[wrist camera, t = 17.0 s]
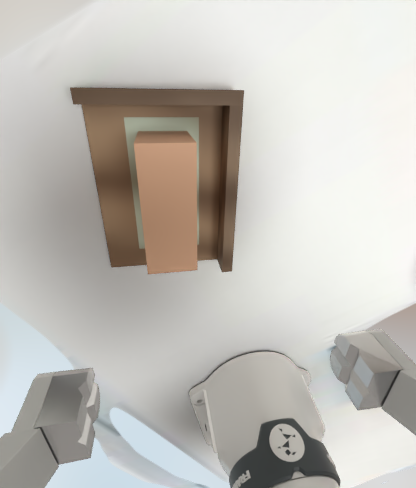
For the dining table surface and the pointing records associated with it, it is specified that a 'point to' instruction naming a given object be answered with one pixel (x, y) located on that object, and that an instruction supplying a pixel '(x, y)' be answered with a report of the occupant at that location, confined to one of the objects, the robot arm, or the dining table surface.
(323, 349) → the dining table surface
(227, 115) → the brown wooden flat frame
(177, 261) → the terracotta block
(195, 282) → the dining table surface
